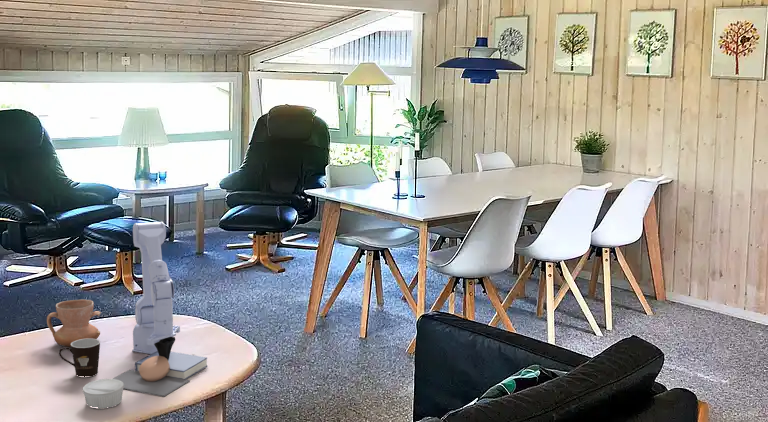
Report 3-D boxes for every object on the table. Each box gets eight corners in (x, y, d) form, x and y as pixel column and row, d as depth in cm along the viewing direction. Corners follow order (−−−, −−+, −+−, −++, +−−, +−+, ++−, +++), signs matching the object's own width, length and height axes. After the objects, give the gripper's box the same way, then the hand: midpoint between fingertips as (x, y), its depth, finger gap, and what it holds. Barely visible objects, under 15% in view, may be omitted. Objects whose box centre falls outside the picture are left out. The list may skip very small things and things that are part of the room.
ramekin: (85, 413, 240) (84, 395, 239) (81, 398, 250) (80, 381, 249) (126, 407, 245) (126, 390, 244) (121, 393, 255) (121, 376, 254)
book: (135, 371, 271) (134, 362, 271) (160, 358, 283) (159, 349, 283) (183, 380, 265) (183, 371, 264) (207, 366, 277) (207, 357, 276)
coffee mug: (107, 371, 272) (105, 340, 270) (89, 380, 264) (88, 349, 262) (76, 366, 275) (75, 335, 273) (58, 375, 267) (56, 344, 265)
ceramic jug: (108, 336, 304) (105, 297, 301) (96, 350, 289) (93, 309, 287) (56, 337, 303) (53, 298, 300) (41, 351, 289) (38, 310, 286)
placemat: (102, 385, 260) (102, 383, 260) (130, 370, 272) (129, 369, 272) (164, 396, 252) (164, 395, 252) (189, 381, 264) (189, 380, 264)
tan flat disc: (135, 378, 264) (133, 374, 263) (151, 358, 271) (149, 353, 270) (159, 383, 261) (157, 379, 260) (175, 362, 268) (173, 358, 267)
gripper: (160, 327, 260) (161, 370, 262) (187, 314, 273) (188, 355, 275) (140, 324, 262) (142, 366, 265) (168, 311, 275) (170, 351, 278)
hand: (164, 360), depth 270 cm, fingers closed
